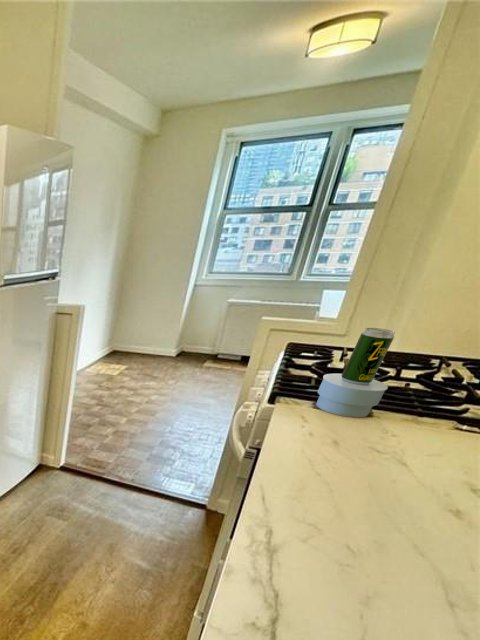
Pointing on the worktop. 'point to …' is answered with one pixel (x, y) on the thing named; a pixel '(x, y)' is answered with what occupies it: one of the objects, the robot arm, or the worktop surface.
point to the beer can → (367, 356)
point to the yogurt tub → (348, 396)
